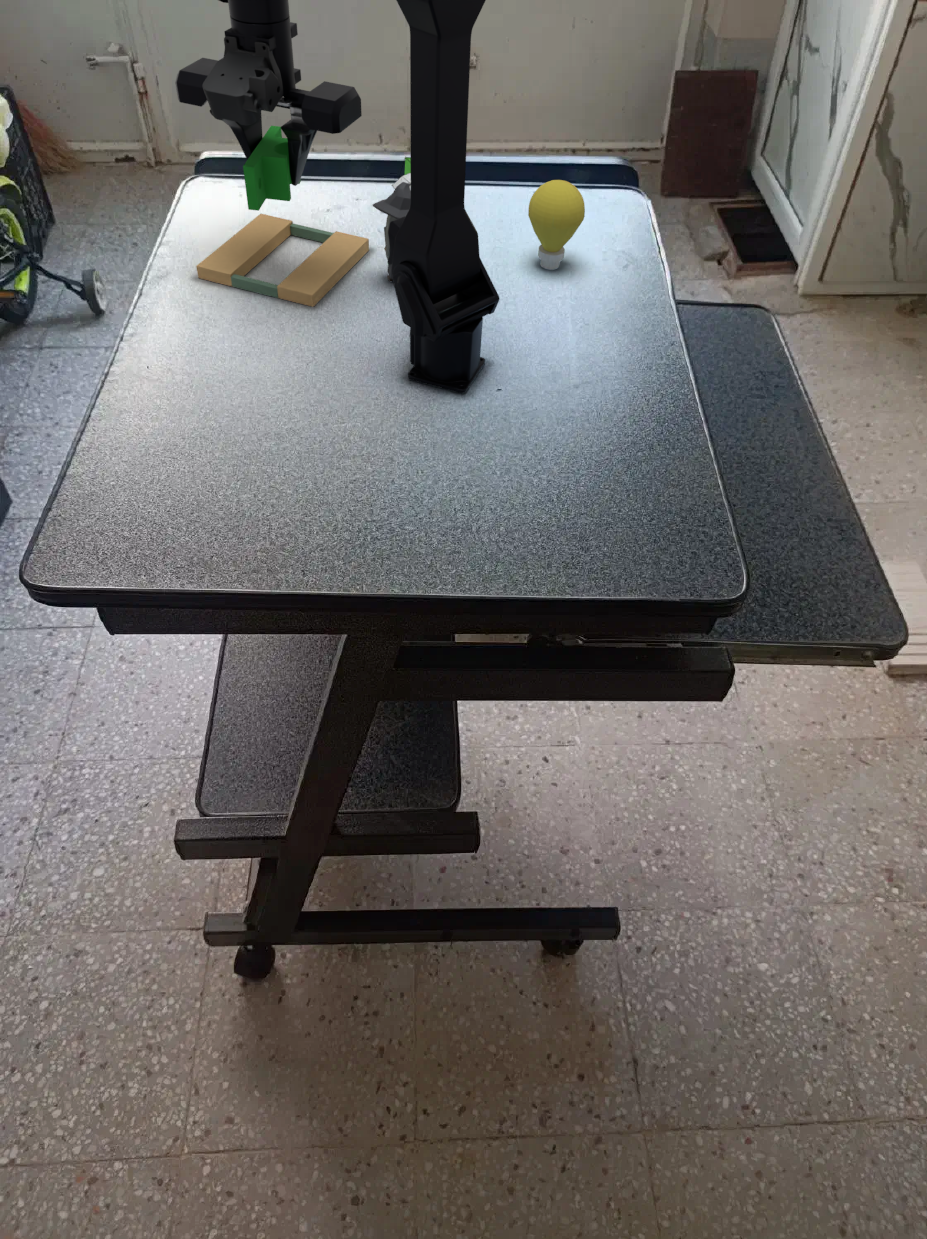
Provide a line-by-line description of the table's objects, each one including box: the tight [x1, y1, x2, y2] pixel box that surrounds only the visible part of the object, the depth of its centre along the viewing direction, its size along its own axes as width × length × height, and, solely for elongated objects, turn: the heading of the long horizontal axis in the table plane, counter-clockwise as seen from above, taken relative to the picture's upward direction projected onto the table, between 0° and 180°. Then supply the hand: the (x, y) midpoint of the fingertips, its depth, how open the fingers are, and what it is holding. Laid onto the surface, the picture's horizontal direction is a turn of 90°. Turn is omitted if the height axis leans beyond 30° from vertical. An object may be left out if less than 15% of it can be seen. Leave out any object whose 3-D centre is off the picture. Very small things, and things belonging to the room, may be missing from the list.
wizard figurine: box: [372, 182, 411, 283], centre depth 102 cm, size 8×6×12 cm
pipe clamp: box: [242, 125, 302, 211], centre depth 98 cm, size 11×4×5 cm, turn 173°
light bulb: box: [527, 179, 586, 271], centre depth 107 cm, size 7×7×10 cm
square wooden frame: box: [195, 213, 370, 308], centre depth 108 cm, size 15×15×2 cm
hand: (277, 180), depth 99 cm, fingers closed on pipe clamp, 4 cm apart
